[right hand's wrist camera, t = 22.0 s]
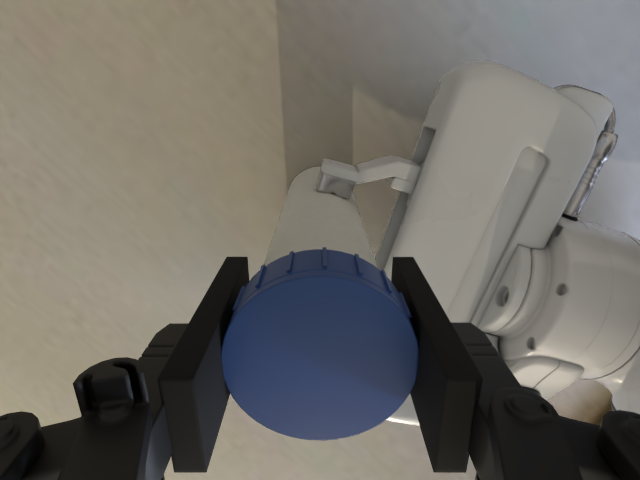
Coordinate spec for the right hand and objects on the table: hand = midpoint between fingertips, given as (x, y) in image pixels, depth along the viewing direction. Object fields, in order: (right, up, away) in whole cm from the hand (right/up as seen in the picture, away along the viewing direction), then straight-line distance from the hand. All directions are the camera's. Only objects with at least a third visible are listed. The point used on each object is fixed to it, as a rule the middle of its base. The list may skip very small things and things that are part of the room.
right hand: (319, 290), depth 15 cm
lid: (0, -1, -4) cm, 4 cm away
